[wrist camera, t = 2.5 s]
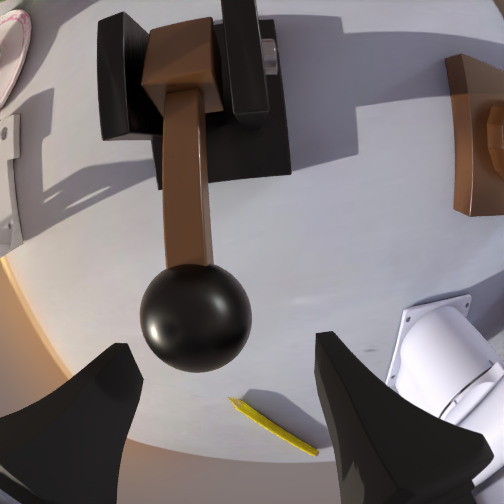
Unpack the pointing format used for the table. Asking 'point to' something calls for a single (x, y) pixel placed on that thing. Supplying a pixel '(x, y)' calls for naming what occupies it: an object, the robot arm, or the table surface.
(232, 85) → the lever stand
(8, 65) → the teacup
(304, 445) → the pencil
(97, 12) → the table surface
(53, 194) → the table surface
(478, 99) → the button block
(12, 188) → the bracket
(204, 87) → the lever
